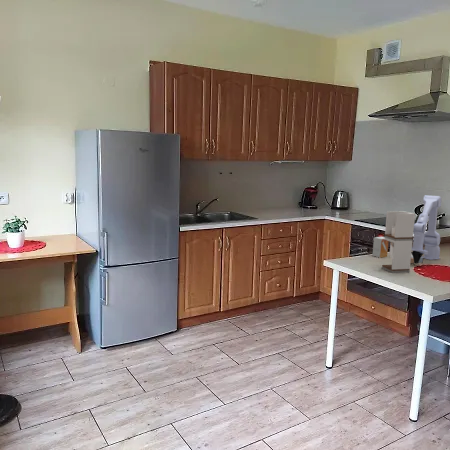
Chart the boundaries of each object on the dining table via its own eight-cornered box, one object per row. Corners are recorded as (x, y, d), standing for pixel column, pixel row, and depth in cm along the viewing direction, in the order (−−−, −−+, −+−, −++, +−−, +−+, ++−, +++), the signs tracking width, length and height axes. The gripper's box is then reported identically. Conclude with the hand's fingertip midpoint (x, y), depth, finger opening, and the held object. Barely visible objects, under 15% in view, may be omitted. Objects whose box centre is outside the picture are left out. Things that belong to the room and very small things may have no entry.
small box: (379, 258, 291) (381, 239, 289) (372, 256, 296) (373, 237, 294) (387, 256, 295) (389, 238, 293) (379, 254, 300) (381, 236, 298)
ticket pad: (407, 257, 294) (407, 253, 293) (422, 262, 282) (422, 257, 281) (399, 258, 291) (399, 253, 291) (414, 263, 279) (414, 258, 279)
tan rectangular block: (405, 260, 285) (406, 255, 285) (413, 263, 279) (414, 258, 279) (400, 260, 284) (401, 256, 284) (408, 263, 278) (409, 258, 277)
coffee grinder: (398, 267, 267) (403, 211, 261) (409, 272, 257) (415, 213, 251) (381, 268, 264) (386, 211, 259) (392, 272, 254) (397, 213, 248)
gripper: (404, 240, 276) (402, 260, 278) (422, 244, 263) (420, 266, 265) (413, 239, 279) (411, 260, 281) (431, 244, 266) (429, 265, 268)
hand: (416, 263), depth 273 cm, fingers closed
